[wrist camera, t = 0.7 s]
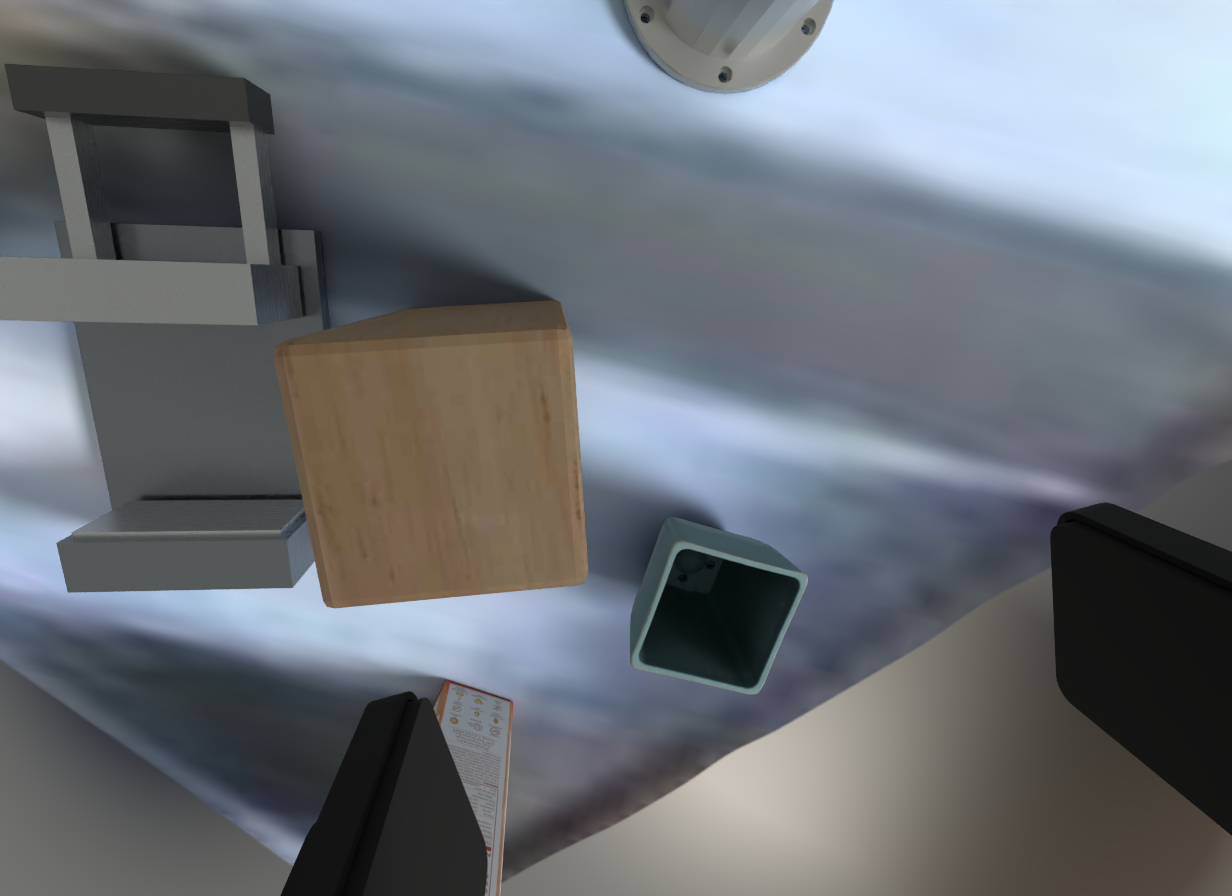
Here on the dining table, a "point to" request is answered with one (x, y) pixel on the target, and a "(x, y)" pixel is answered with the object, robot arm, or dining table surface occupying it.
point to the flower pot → (713, 607)
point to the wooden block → (438, 452)
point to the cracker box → (480, 761)
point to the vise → (194, 434)
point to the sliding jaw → (94, 274)
